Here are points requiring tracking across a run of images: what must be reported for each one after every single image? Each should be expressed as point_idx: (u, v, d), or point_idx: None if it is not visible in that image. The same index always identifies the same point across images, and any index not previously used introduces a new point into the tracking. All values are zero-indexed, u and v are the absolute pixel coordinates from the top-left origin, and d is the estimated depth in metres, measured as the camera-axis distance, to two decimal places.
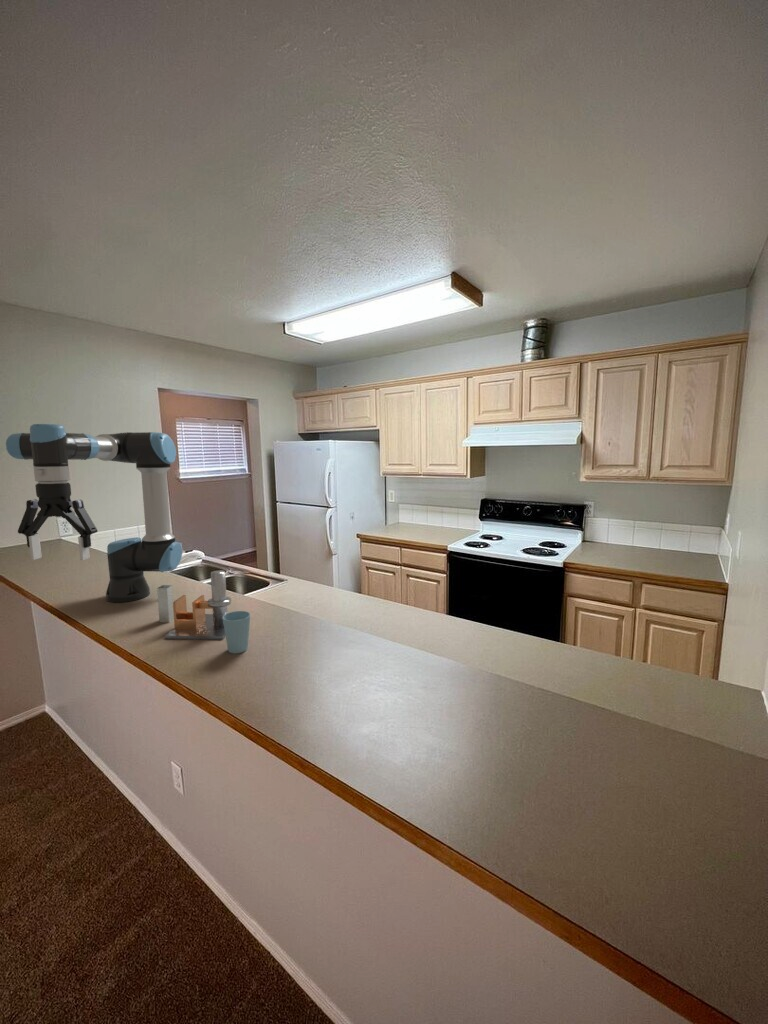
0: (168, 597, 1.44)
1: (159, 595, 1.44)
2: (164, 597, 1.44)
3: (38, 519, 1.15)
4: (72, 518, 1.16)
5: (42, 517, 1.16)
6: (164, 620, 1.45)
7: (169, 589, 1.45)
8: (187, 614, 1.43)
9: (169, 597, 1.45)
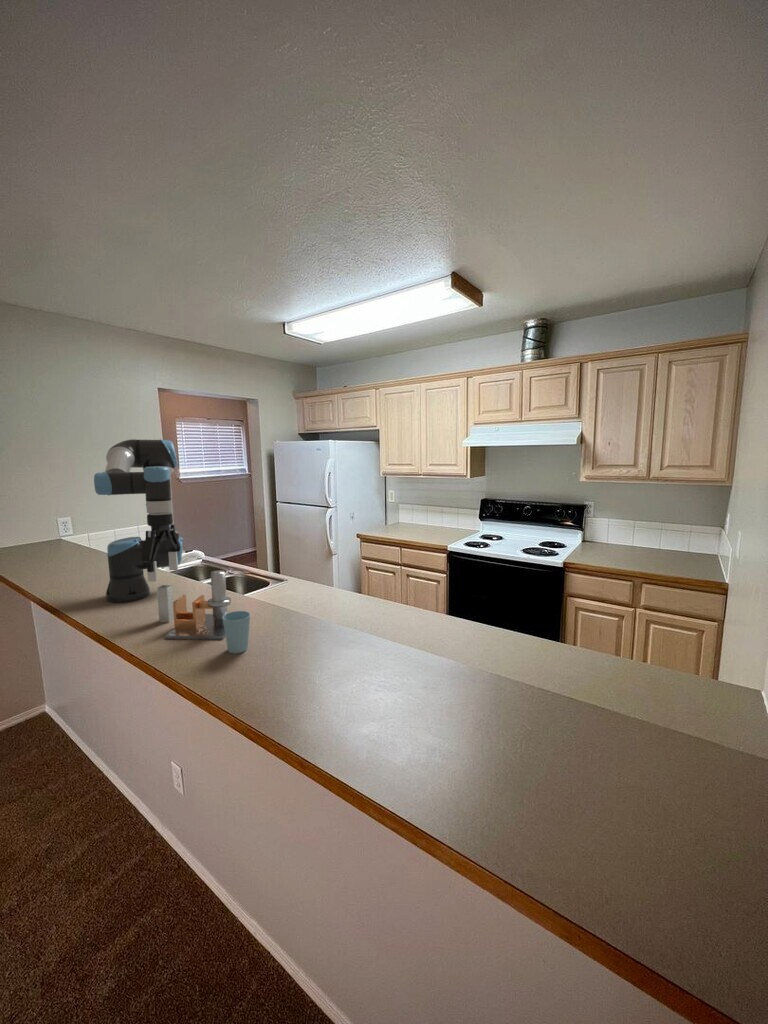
0: (168, 597, 1.44)
1: (159, 595, 1.44)
2: (163, 597, 1.44)
3: None
4: None
5: (163, 539, 1.46)
6: (164, 620, 1.45)
7: (169, 589, 1.45)
8: (187, 614, 1.43)
9: (169, 597, 1.45)
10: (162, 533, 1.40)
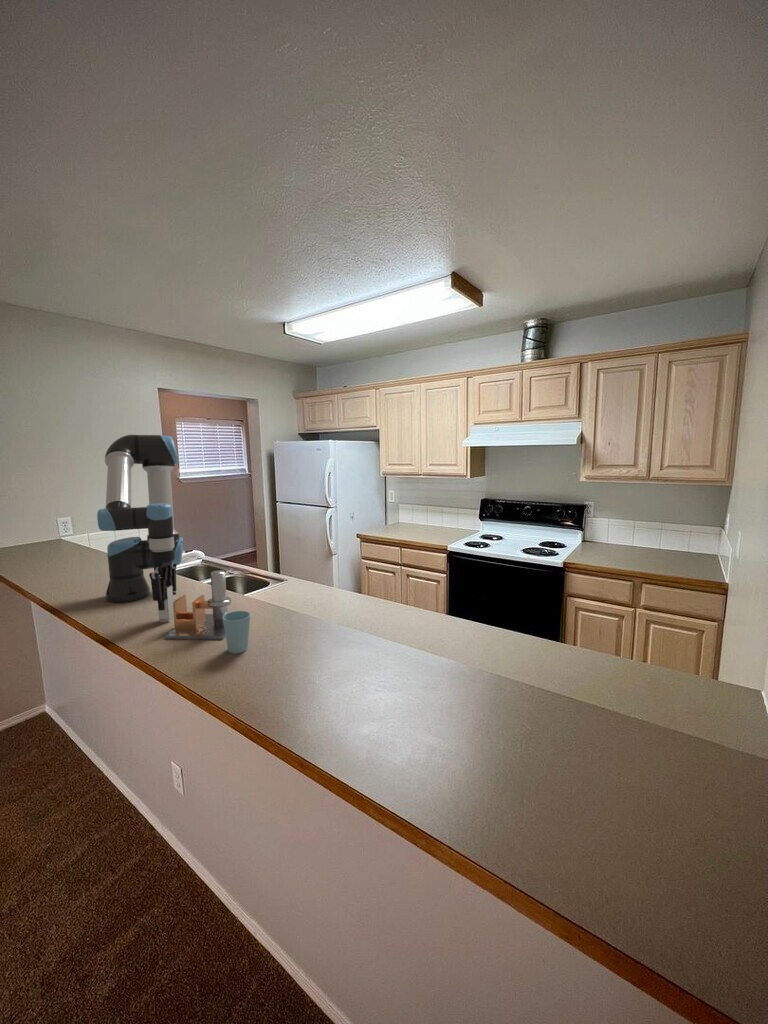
0: (168, 597, 1.44)
1: None
2: None
3: None
4: None
5: None
6: (164, 620, 1.45)
7: (169, 589, 1.45)
8: (187, 614, 1.43)
9: (169, 597, 1.45)
10: (165, 570, 1.42)
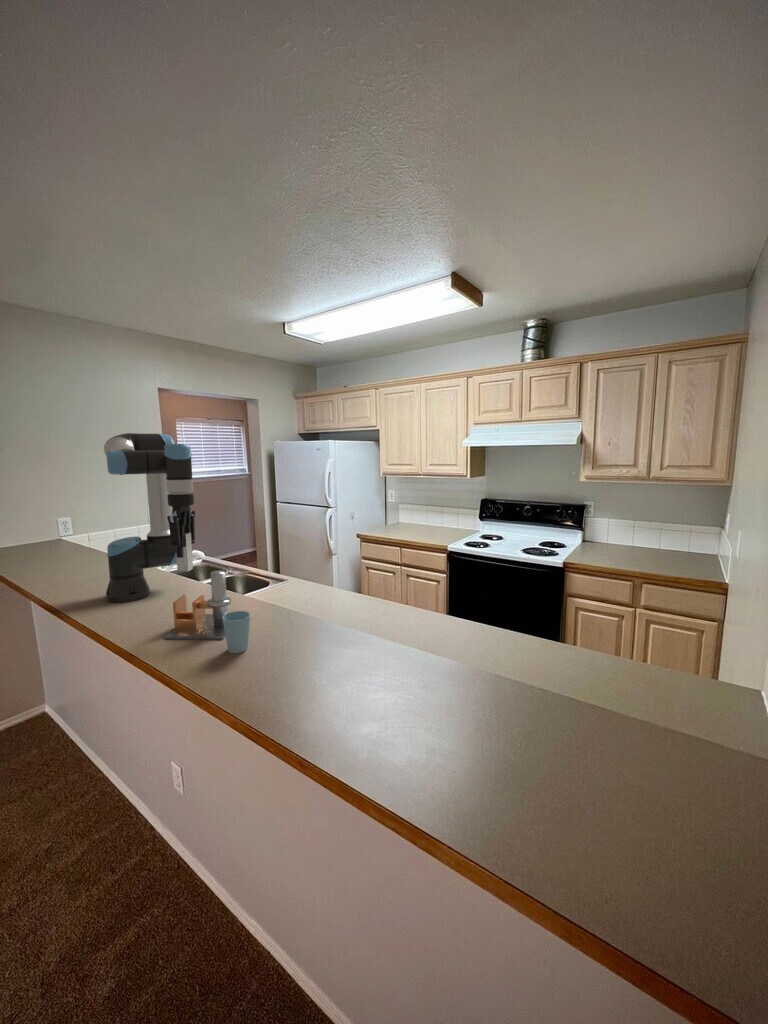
0: (187, 544, 1.36)
1: None
2: None
3: None
4: None
5: None
6: (182, 569, 1.36)
7: (188, 536, 1.36)
8: (187, 614, 1.43)
9: (188, 544, 1.36)
10: (183, 515, 1.34)
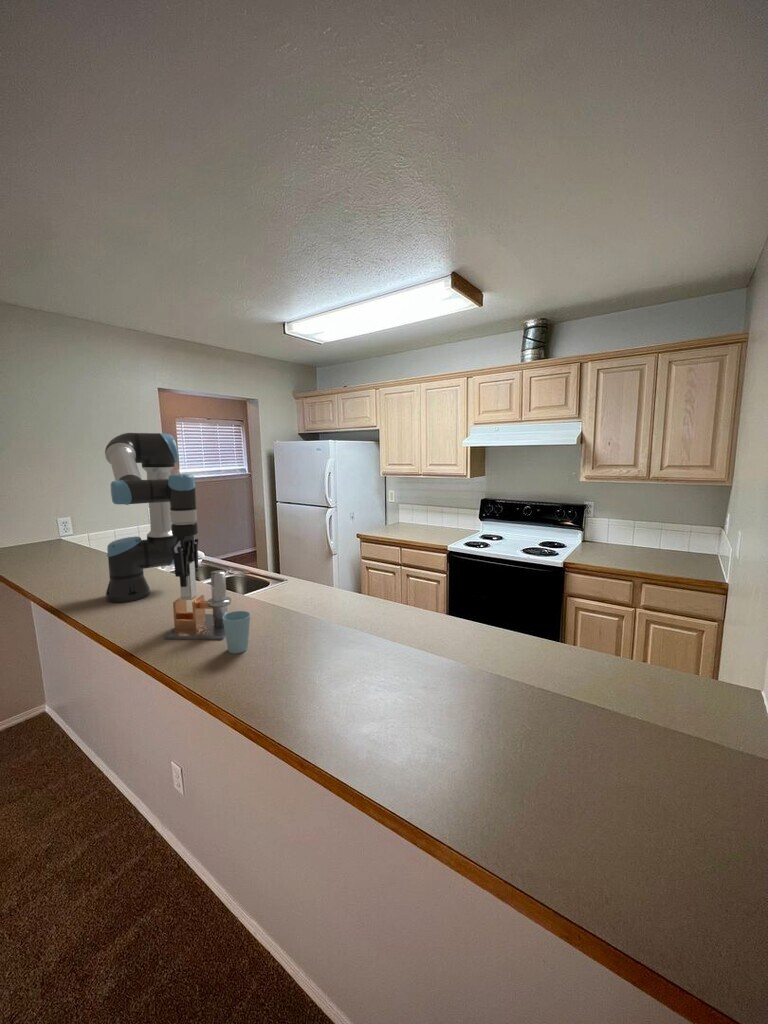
0: (191, 573, 1.37)
1: None
2: None
3: None
4: None
5: (185, 552, 1.38)
6: (186, 597, 1.37)
7: (191, 565, 1.37)
8: (187, 614, 1.43)
9: (191, 573, 1.37)
10: (187, 545, 1.35)
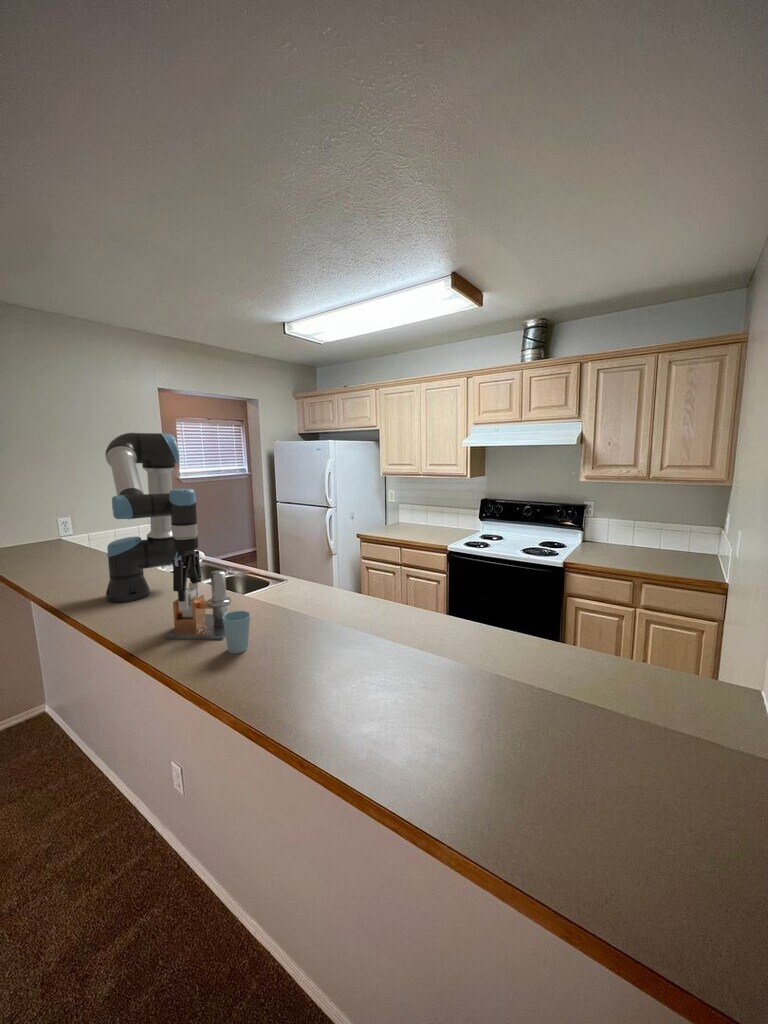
0: (192, 600, 1.38)
1: None
2: None
3: None
4: None
5: None
6: None
7: (193, 592, 1.39)
8: None
9: (193, 600, 1.39)
10: (188, 559, 1.35)
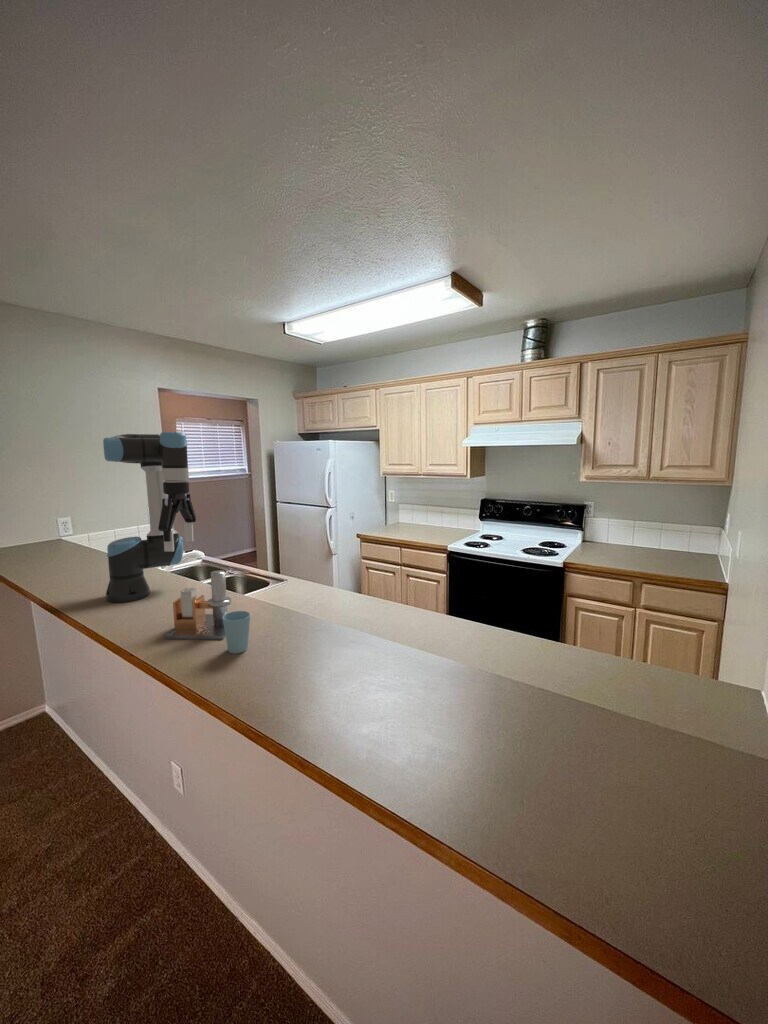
0: (192, 600, 1.38)
1: (183, 598, 1.38)
2: (187, 601, 1.38)
3: None
4: None
5: (179, 509, 1.40)
6: None
7: (193, 592, 1.39)
8: None
9: (193, 600, 1.39)
10: (179, 502, 1.35)
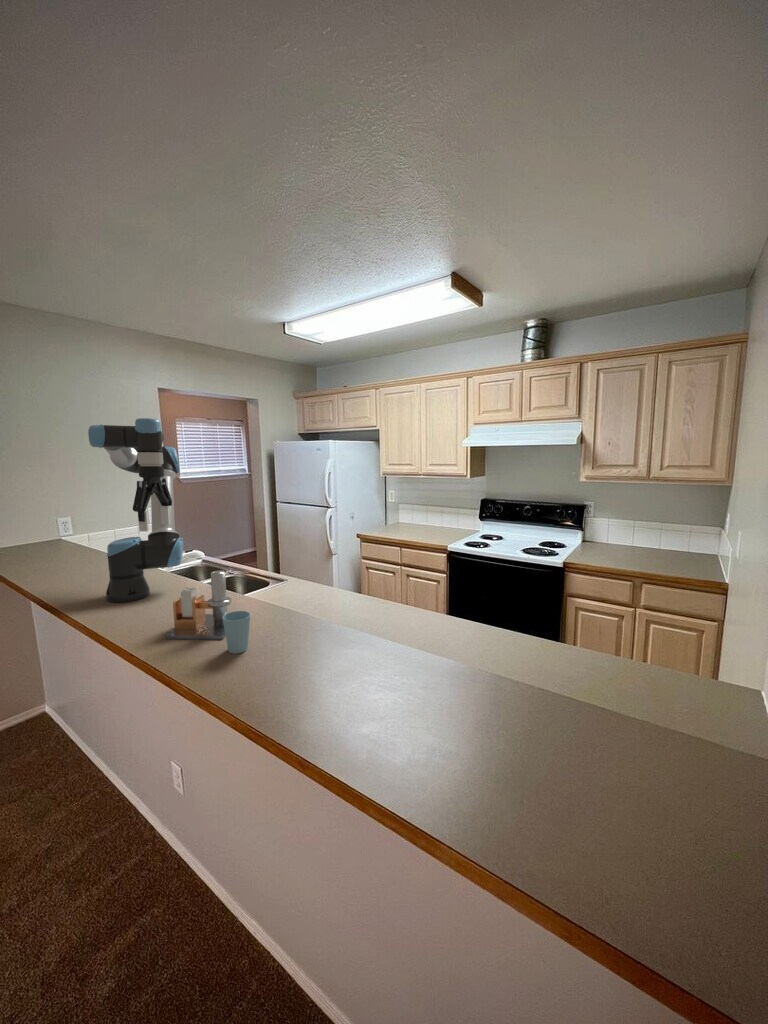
0: (192, 600, 1.38)
1: (183, 598, 1.38)
2: (187, 601, 1.38)
3: None
4: None
5: (155, 492, 1.48)
6: None
7: (193, 592, 1.39)
8: None
9: (193, 600, 1.39)
10: (153, 485, 1.42)
